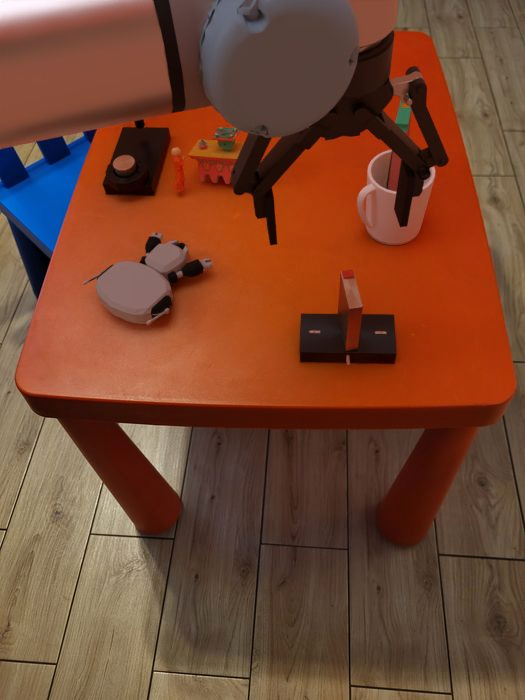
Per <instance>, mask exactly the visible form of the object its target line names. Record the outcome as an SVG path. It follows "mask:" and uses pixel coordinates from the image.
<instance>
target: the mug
mask: <svg viewBox="0 0 525 700" xmlns="http://www.w3.org/2000/svg"><path fill="white" fill-rule="evenodd" d="M391 153H392V154H393V151H392V150H391V149H388V150H384V151H382V152H380V153H378V154H377V155H375V156H374V157H373V158H372V159H371V160H370V162H369V164H368V165H367V171H366V172H367V173H366V185H365V186H363V188H362V189H361V190H360V191H359V193H358V195H357V198H356V207H357V212H358V215H359V217H360V220H361V222H362V223H363V224H364V226H365V231H366V232H367V233H368V235H369V236H370V237H371V238H372V239H373V240H374V241H376V242H378V243H379V244H383V245H387V246H401V245H405V244H408V243H409V242H411V241H413V240H415V239H416V237H417V236H418V235H419V233H420V231H421V228H422V225H423V221H424V218H425V213H426V210H427V207H428V204H429V200H430V197H431V193H432V189H433V185H434V183H435V179H436V168H435V166H433V167H431V168H430V169H429V170H430V172H431V176H430V177H429V178H428V179H427V180H424V185H423V190H422V193H421V194H420V196H417V197H412V203H411V208H410V214H409V219H408V225H407V226H406V227H400V226H399V223H398V220H397V217H396V214H395V211H394V205H395V198H396V192H395V191H391V190H388V183H389V176H390V169H391V163H390V160H391V161H392V156H391ZM389 167H390V169H389ZM388 173H389V175H388ZM387 179H388V180H387Z"/></svg>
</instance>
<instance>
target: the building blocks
mask: <svg viewBox="0 0 525 700" xmlns="http://www.w3.org/2000/svg"><path fill="white" fill-rule="evenodd" d="M411 120H412V109H411V107H410V105H407V104H406V103H402V102H401V100H399V105H398V109H397V114H396V118H395V121H394V122H395V123H396V124H397V125H398V126H399V128H400V129H401V130H402V131H403V132H404V133H405V134H406V135H407V136H408V137H409V138H410V132H411V131H410V130H411ZM240 133H241V131H240V130H238V129H236V128H235V127H222V126H218V127H217V128H216V130H215V131H214V133H212V135H211V137H210V138H211V139H204V138H203V139H200V138H199V139H198V140H197V141H196V142H195V144H194V145H193V147H192V148H191V150H189V152H188V154H187V157H189V158H190V159H192V160H196V161H197V165H198V166H197V167H198V173H199V180H200V182H201V183H205V182H206V180H207V177H208V176H209V177H210V179H211V182H212V184H217V183H218V182H219V180H220V177H222V179H223V181H224V183H225V184H226V185H230V184H231V183H232V177H231V171H232V169H233V167H234V165H235V162H236V160H237V158H238V156H239V153H240V151H241V149H242V147H243V144H244V142H245V141H236V138H238V136H239V134H240ZM170 152H171V155H172V162H173V164H174V171H175V179H174V180H175V181H174V183H173V190H175V191H184V190H185V180H186V179H185V171H184V168H183V166H184V164H185V158H186V157H185V155H182V156H181V153H182V150H181V148H179V147H177V146H175V147H173V148H172V149H171V151H170ZM391 156H392V161H391V160H390V163H391V169H390V167H389V169H390V176H389V183H388V190H391V191H395V192H397V185H398V178H399V172H400V165H401V160H402V159H401V158H400V157H399V156H398V155H397V154H395V153H394V152H393V154H392V153H391ZM388 175H389V173H388ZM387 180H388V179H387Z"/></svg>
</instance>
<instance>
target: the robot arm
mask: <svg viewBox="0 0 525 700" xmlns="http://www.w3.org/2000/svg"><path fill="white" fill-rule="evenodd" d="M398 8H399V0H0V150H4V149H8V148H12V147H13V148H14V147H18V146H23V145H27V144H31V143H37V142H40V141H45V140H51V139H56V138H60V137H65V136H70V135H75V134H80V133H86V132H90V131H94V130H98V129H104V128H109V127H113V126H119V125H122V124H123V125H124V124H128V123H134V121H138V120H143V119H144V120H147V119H151V118H156V117H157V118H158V117H161V116H167V115H171V114H175V113H180V112H186V111H193V110H199V109H203V108H208V107H212V109H214V110H215V111H216V112H217V113H218V114H220V116H221V117H222V118H223V119H224V120H225V121H226V122H227V123H228V124H229V125H231V126H232V128H236V129H238V130H240V132H243V133H247V135H246V137H245V140H244V141H243V142H244V144H243V147H242V149H241V151H240V153H239V156H238V158H237V160H236V162H235V165H234V167H233V169H232V171H231V177H232V180H231V183H232V191H233V193H234V195H236V196H243V195H245V194H249V195H251V196H252V201H253V209H254V216H255V217H256V218H257V219H258V220H260V219H265V220H266V221H265V222H266V230H267V235H268V240H269V241H268V242H269V246H276V245H278V234H277V223H276V222H277V221H276V220H277V219H276V208H275V197H274V192H273V186H275V184H276V183H278V181H279V180H280V179H281V178H282V176H283V175H284V174H285V173H286V172H287V171H288V170H289V169H290V167H292V166H293V164H294V163H295V162H296V161H297V160H298V158H299V157H300V156H301V155H303V153H304V152H305V151H309V150H311V148H313V146H314V145H316V143H317V142H318V141H319V140H320V139H321V138H324V141H332V140H336V139H338V138H342V137H347V138H348V137H349V138H350V137H351V138H352V137H359V136H361V133H363V132H365V131H366V130H367V131H368V132H369V133H371V134H372V135H373V136H374V137H375V138H376V139H377V140H379V141H380V140H381V141H382V142H383V144H385V146H387V147H388V148H389V150H392V151H393V152H394V153H395V154H397V155H398V156H399V157H400V158H401V159H402V160H401V165H400V172H399V178H398V185H397V192H396V198H395V205H394V211H395V214H396V217H397V220H398V223H399V226H400V227H406V226H407V225H408V219H409V214H410V208H411V203H412V197H417V196H420V194H421V193H422V190H423V185H424V180H427V179H428V178H429V177H430V176H431V172H430V170H429V169H430V168H431V167H433V166H434V167H436V166H437V167H438V168H443V167H445V166H447V165H448V164H449V161H450V158H449V156H448V153H447V151H446V149H445V146H444V145H443V144H444V143H443V141H442V139H441V137H440V135H439V133H438V130H437V126H436V125H435V123H434V121H433V118H432V116H431V113H430V111H429V108H428V107H427V99H428V98H427V97H428V85H427V83H426V81H425V79H424V76H423V74H422V72H421V70H420V68H419V67H418V66H416V65H412V66H410V67H408V68H407V69H406V71H405V74H404V75H401V76H397V77H393V78H390V77H391V70H392V69H391V68H392V62H393V51H394V43H395V42H394V41H395V30H394V29H395V26H396V24H397V19H398ZM394 96H396V97H398V98H399V99H400V100H401V102H402V103H406V104H407V105H410V107H411V109H412V111H411V113H412V114H413V117H414V119H415V121H416V123H417V125H418V127H419V130H420V132H421V134H422V136H423V139H424V141H425V143H426V146H427V147H425V148H423V149H421V147H419V146H418V144H416V142H415V141H414V140H412V139H411V137H410V136H409V137H408V136H407V135H406V134H405V133H404V132H403V131H402V130H401V129H400V128H399V126H398V125H397V124H396V123H395V122H396V121H394V120H393V119H392V118H391V117H390V116H389V115H388V114H387V113H386V111H384V110H385V108H386V107H387V106H388V105H389V104H390V103H391V101H392V99H393V97H394ZM400 100H399V101H400ZM273 138H275V139H276V138H279V139H278V141H277V142H276V143H275V144H274V145H273V147H272V148H271V149H270V150H269V151H268V153H266V151H267V150H268V147H269V145H270V143H271V141H272V139H273ZM265 153H266V155H265ZM264 155H265V156H264ZM263 157H264V158H263Z"/></svg>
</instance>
